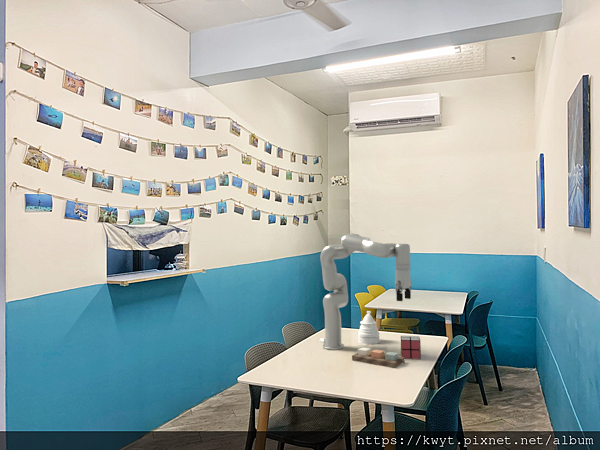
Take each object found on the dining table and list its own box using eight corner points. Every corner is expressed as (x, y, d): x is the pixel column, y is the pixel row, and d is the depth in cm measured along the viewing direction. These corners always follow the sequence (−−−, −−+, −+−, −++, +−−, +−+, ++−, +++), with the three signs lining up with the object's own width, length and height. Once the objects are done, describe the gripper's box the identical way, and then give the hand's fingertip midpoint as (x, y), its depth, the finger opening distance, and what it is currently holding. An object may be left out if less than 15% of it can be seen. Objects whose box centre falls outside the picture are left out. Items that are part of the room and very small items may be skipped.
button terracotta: (371, 357, 237) (371, 351, 237) (375, 355, 241) (375, 349, 241) (379, 358, 234) (379, 353, 234) (384, 356, 238) (384, 350, 238)
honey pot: (360, 338, 288) (360, 309, 289) (381, 339, 284) (380, 310, 284) (356, 343, 276) (355, 313, 277) (377, 344, 272) (376, 314, 272)
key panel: (352, 360, 240) (351, 355, 240) (363, 355, 249) (363, 350, 249) (393, 368, 225) (393, 363, 225) (404, 362, 235) (404, 357, 235)
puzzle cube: (420, 359, 239) (420, 340, 240) (401, 358, 241) (400, 339, 242) (419, 354, 249) (419, 336, 249) (401, 353, 251) (400, 335, 251)
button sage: (385, 359, 232) (385, 353, 232) (389, 357, 236) (389, 351, 236) (394, 361, 229) (394, 355, 229) (398, 359, 233) (398, 353, 233)
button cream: (357, 355, 242) (357, 349, 242) (362, 353, 246) (362, 347, 246) (366, 356, 239) (366, 350, 239) (370, 354, 243) (370, 348, 243)
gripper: (403, 265, 250) (404, 297, 249) (389, 268, 236) (389, 301, 236) (416, 266, 245) (417, 298, 245) (402, 268, 231) (403, 302, 231)
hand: (403, 299), depth 240 cm, fingers open, 9 cm apart
